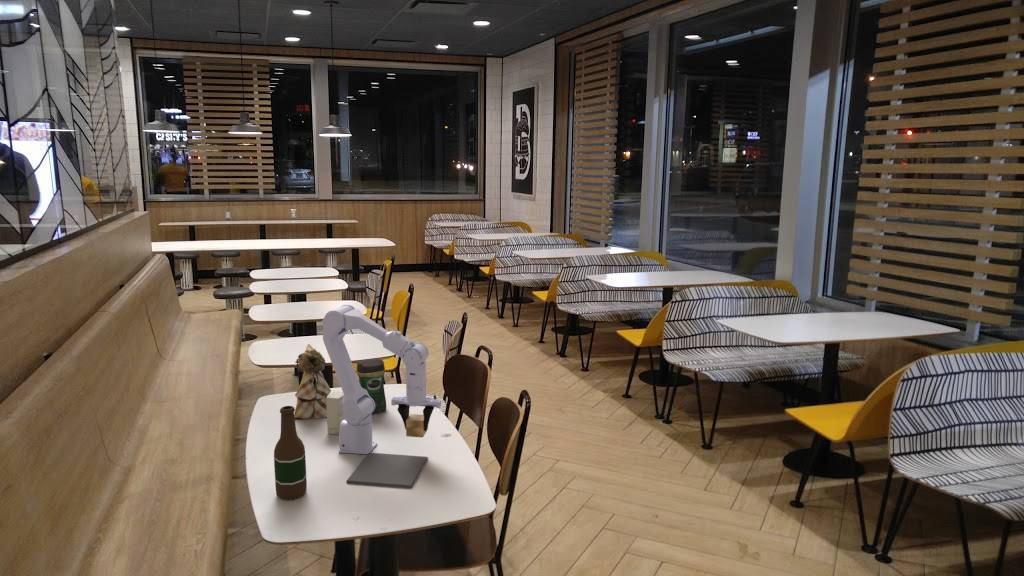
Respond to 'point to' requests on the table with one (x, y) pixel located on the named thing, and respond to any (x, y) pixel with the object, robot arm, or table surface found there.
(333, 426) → the skincare box
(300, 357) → the plush toy
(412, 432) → the oak cube
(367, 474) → the charcoal mat
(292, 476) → the beer bottle
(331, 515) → the table surface
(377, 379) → the coffee jar
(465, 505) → the table surface
